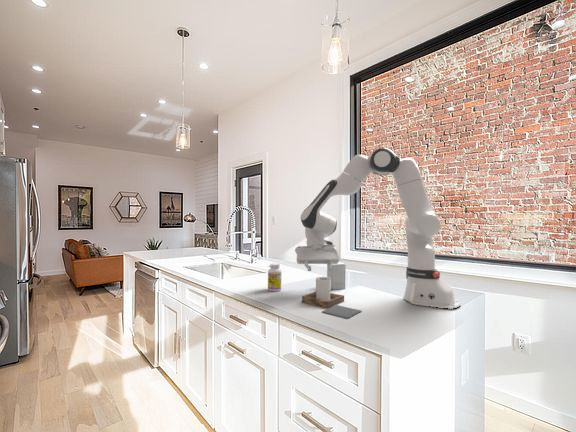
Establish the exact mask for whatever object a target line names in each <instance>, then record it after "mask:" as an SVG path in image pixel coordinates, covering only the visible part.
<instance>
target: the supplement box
mask: <svg viewBox="0 0 576 432" xmlns="http://www.w3.org/2000/svg"><path fill="white" fill-rule="evenodd" d="M326 265H327V266H326V277H329V278H331V290H346V272H347V271H346V263H344V262H341V261H339V262H338V264H332V270H331V271H328V266H330V265H329V264H326Z"/></svg>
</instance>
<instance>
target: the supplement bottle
mask: <svg viewBox="0 0 576 432" xmlns="http://www.w3.org/2000/svg"><path fill="white" fill-rule="evenodd" d="M280 266H281V265H280V263H277V262H275V263H270V264H269V269H268V270H267V290H268V291H270V292H279V291H281V290H282V269H280Z"/></svg>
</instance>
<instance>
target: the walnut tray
mask: <svg viewBox="0 0 576 432" xmlns="http://www.w3.org/2000/svg"><path fill="white" fill-rule="evenodd" d="M301 302H302V303H305V304H309V305H314V306H317V307H322V308H325V309H329V308H331V307H333V306H336V305H339V304H341V303H343V302H345V295H342V294H339V293H333V292H330V300H329V301H325V300H320V299H316V291H314V292H310V293H308V294H305V295H302V296H301Z"/></svg>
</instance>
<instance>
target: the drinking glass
mask: <svg viewBox="0 0 576 432" xmlns="http://www.w3.org/2000/svg"><path fill="white" fill-rule="evenodd" d="M331 290H332V289H331V278H329V277H327V276H318V277H315V292H316V299H320V300H325V301H329V300H331V299H330V293H331Z"/></svg>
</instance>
